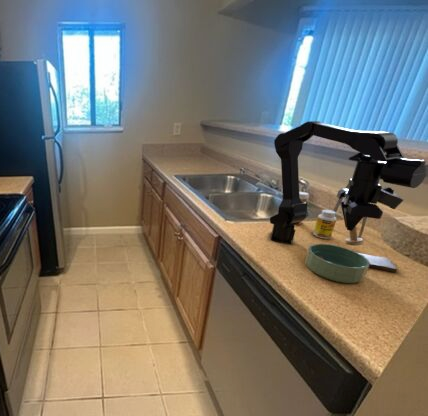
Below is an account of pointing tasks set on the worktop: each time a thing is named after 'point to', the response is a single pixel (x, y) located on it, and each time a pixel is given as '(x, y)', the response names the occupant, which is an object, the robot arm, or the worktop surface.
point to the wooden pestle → (353, 238)
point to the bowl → (337, 263)
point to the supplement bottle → (325, 224)
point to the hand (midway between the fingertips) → (348, 229)
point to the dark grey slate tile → (380, 263)
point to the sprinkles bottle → (303, 197)
